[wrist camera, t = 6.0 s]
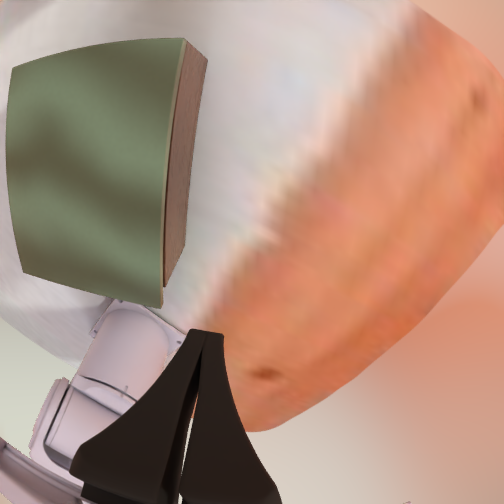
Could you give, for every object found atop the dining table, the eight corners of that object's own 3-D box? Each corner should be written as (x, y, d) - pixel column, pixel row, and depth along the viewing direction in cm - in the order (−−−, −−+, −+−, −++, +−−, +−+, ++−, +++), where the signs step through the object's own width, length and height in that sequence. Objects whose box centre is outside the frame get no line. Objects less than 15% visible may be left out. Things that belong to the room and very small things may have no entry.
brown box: (185, 246, 20) (165, 287, 16) (64, 225, 20) (28, 256, 15) (208, 59, 14) (187, 41, 9) (64, 68, 13) (18, 67, 8)
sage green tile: (163, 303, 16) (160, 309, 15) (27, 268, 15) (22, 272, 15) (187, 40, 9) (184, 37, 9) (18, 67, 8) (12, 67, 8)
